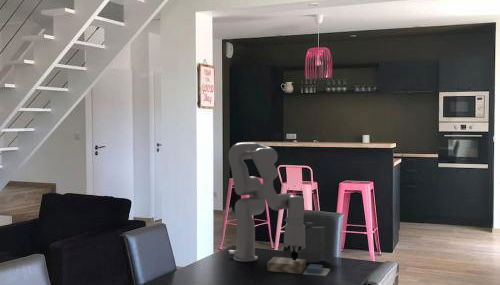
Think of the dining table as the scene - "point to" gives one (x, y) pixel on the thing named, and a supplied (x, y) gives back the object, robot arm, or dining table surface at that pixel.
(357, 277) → the dining table surface
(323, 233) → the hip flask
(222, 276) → the dining table surface
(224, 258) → the dining table surface
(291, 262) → the deck
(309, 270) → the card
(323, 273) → the mat
